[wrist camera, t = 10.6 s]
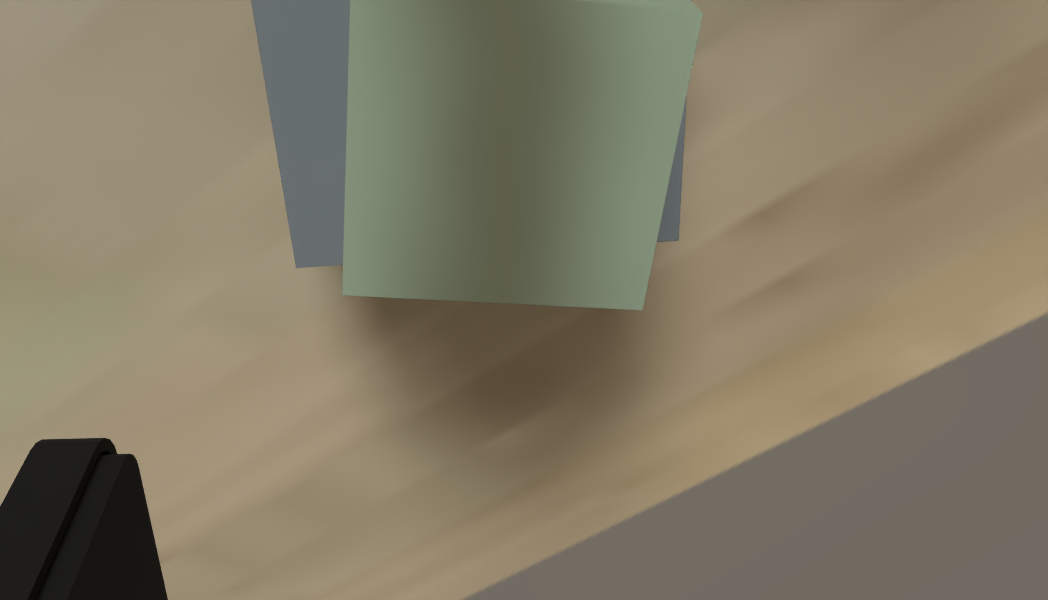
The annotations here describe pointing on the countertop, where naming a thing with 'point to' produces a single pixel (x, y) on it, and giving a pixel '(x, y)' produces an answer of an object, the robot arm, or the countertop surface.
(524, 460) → the countertop surface
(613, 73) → the sage block
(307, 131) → the slab top
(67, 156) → the countertop surface
